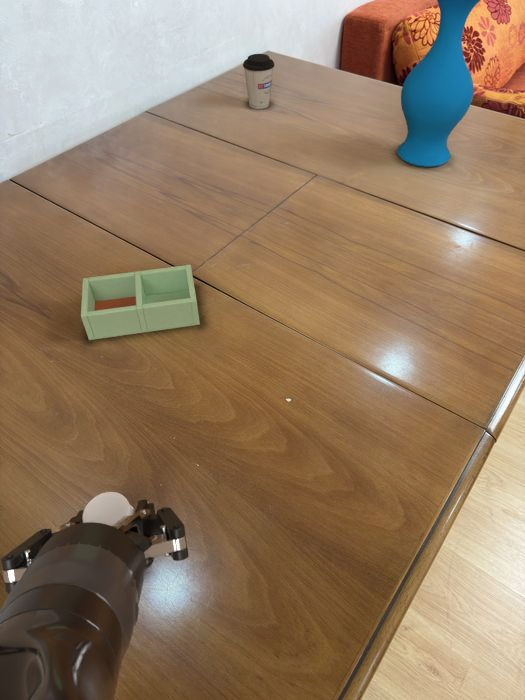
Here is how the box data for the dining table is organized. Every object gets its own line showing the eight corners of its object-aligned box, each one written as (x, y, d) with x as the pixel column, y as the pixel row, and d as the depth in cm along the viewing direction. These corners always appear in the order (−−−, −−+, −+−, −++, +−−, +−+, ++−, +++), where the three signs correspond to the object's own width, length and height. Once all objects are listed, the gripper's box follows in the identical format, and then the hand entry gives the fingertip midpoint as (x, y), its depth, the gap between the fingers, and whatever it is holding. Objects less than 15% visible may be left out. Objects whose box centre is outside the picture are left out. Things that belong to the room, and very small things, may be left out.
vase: (445, 178, 100) (490, 4, 79) (381, 162, 104) (408, -6, 84) (463, 150, 107) (508, -15, 86) (402, 137, 111) (432, -24, 91)
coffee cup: (237, 104, 123) (235, 57, 116) (260, 95, 126) (259, 49, 119) (258, 113, 120) (257, 66, 112) (280, 104, 123) (281, 57, 115)
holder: (89, 340, 72) (80, 316, 69) (90, 301, 77) (82, 278, 74) (199, 324, 74) (196, 300, 71) (193, 288, 79) (190, 264, 76)
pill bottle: (88, 558, 51) (64, 519, 45) (124, 520, 54) (105, 478, 48) (124, 588, 49) (104, 551, 43) (159, 546, 52) (144, 506, 46)
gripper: (183, 525, 34) (186, 462, 51) (-58, 569, 32) (29, 488, 49) (200, 640, 34) (197, 539, 51) (-37, 690, 32) (42, 568, 49)
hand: (115, 515), depth 50 cm, fingers closed on pill bottle, 4 cm apart
